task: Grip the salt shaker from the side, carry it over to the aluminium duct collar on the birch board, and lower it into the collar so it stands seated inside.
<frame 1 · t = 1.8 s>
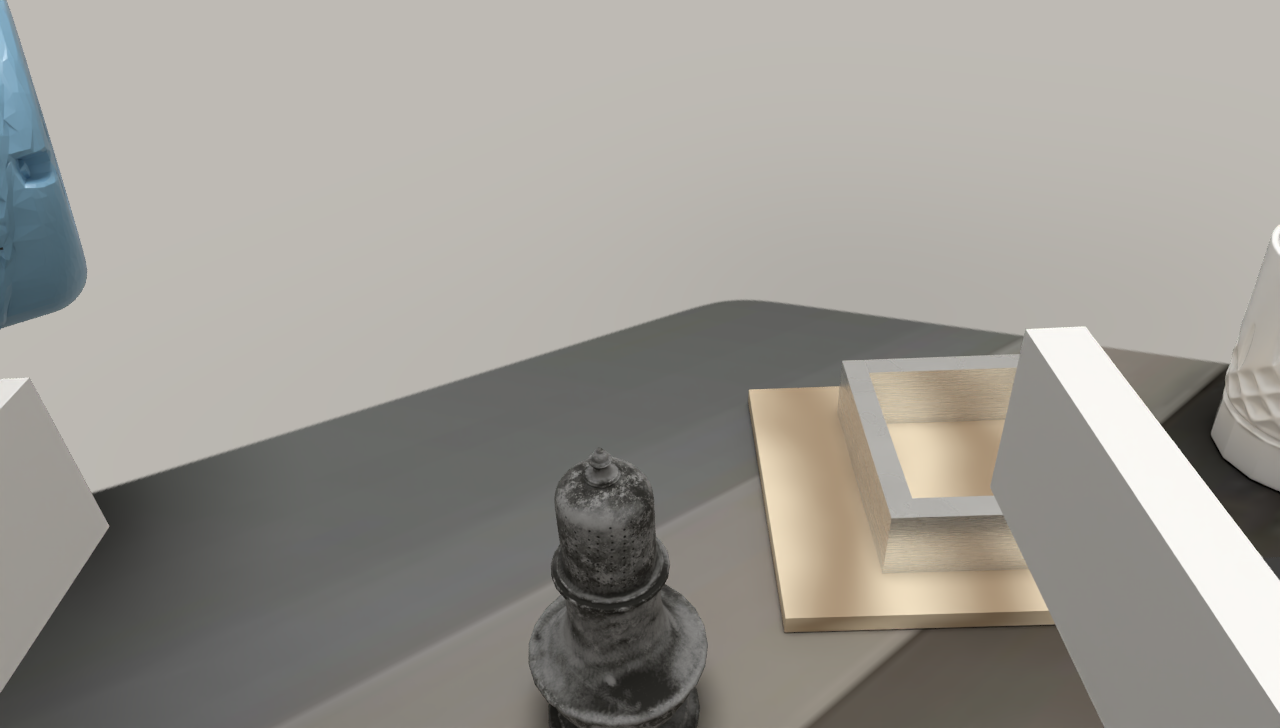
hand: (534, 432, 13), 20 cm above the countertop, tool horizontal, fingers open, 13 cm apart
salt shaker: (624, 711, 32), on the countertop
flange board: (971, 494, 40), on the countertop
duct collar: (974, 480, 39), resting on flange board
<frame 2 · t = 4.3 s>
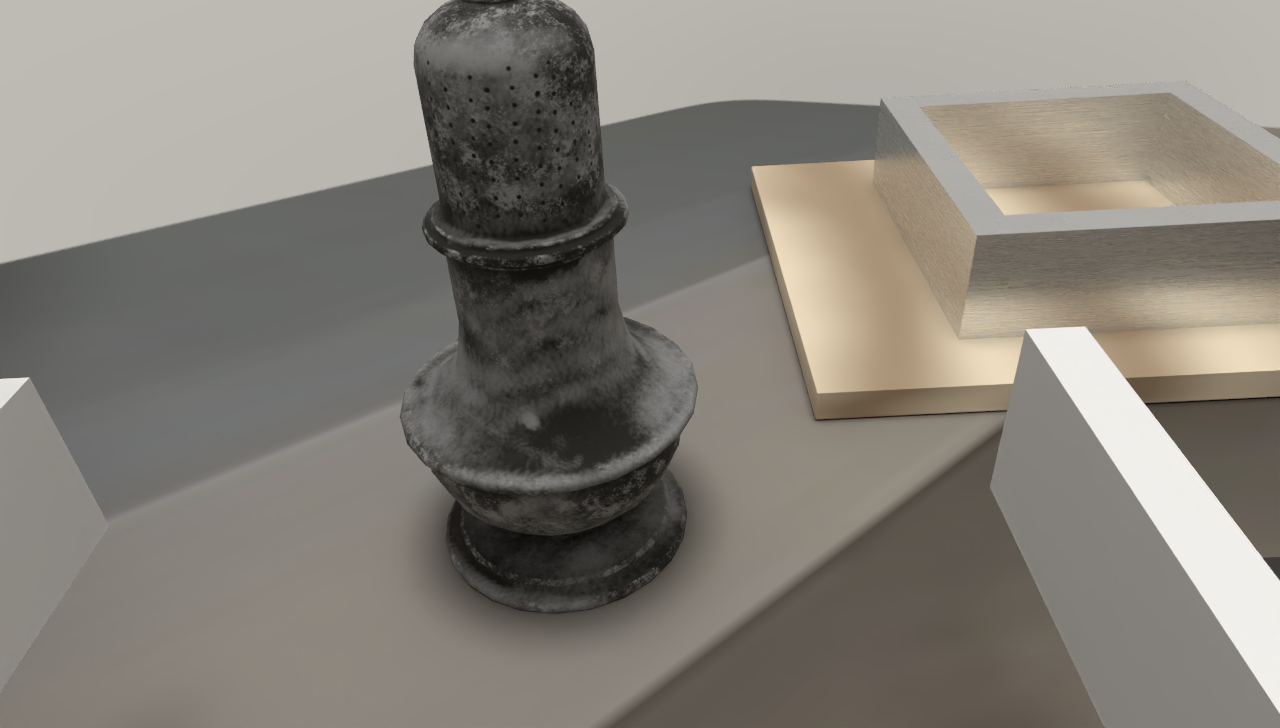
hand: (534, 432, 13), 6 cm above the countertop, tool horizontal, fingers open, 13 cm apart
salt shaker: (568, 524, 20), on the countertop
flange board: (1068, 264, 28), on the countertop
duct collar: (1074, 240, 28), resting on flange board
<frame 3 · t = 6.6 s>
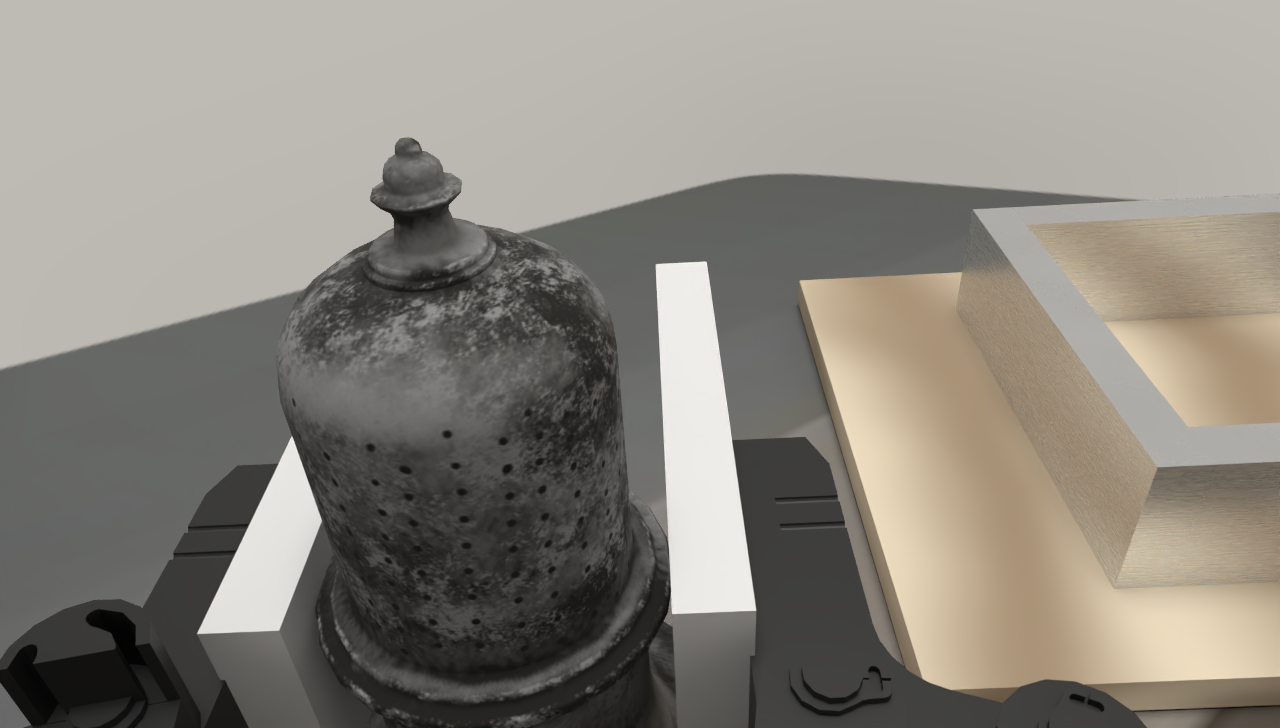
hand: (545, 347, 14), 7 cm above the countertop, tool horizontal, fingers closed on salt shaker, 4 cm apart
flange board: (1227, 438, 21), on the countertop
duct collar: (1238, 411, 21), resting on flange board
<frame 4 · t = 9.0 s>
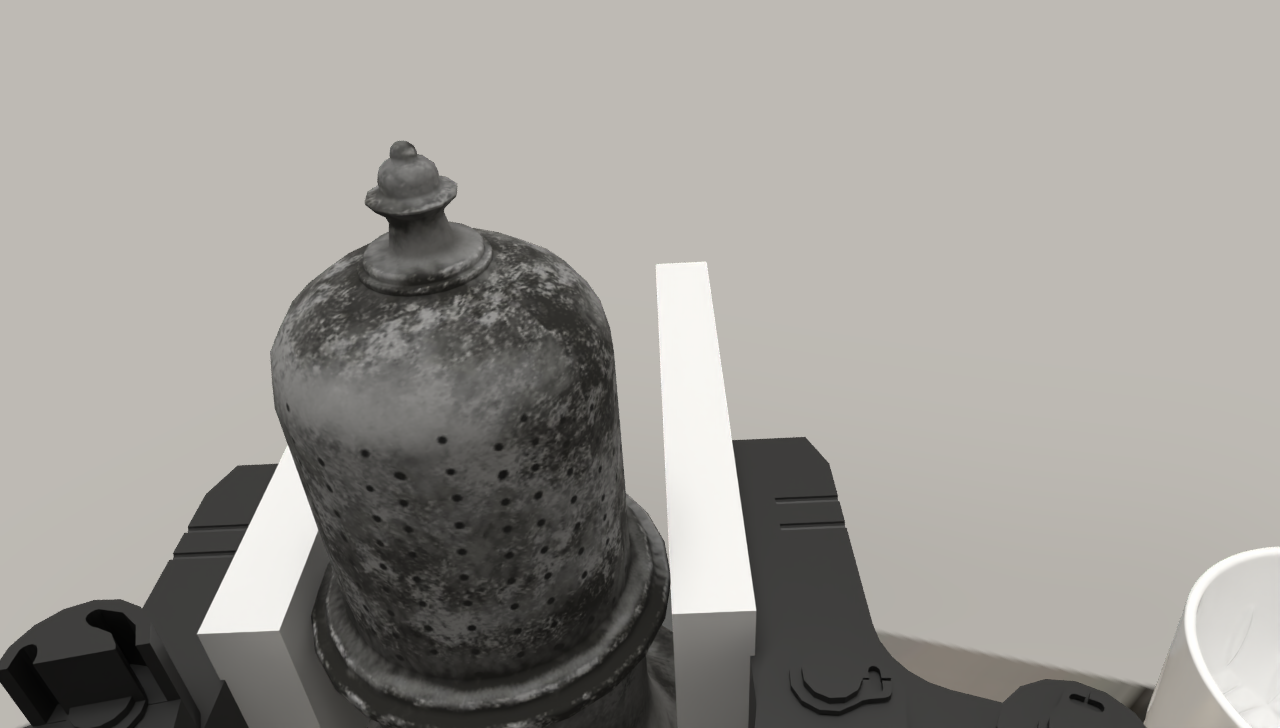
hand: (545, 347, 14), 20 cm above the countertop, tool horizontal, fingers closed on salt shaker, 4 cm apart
when the fingers open (9 cm above the countertop, at t = 11.2 s): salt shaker drops 1 cm, resting on flange board.
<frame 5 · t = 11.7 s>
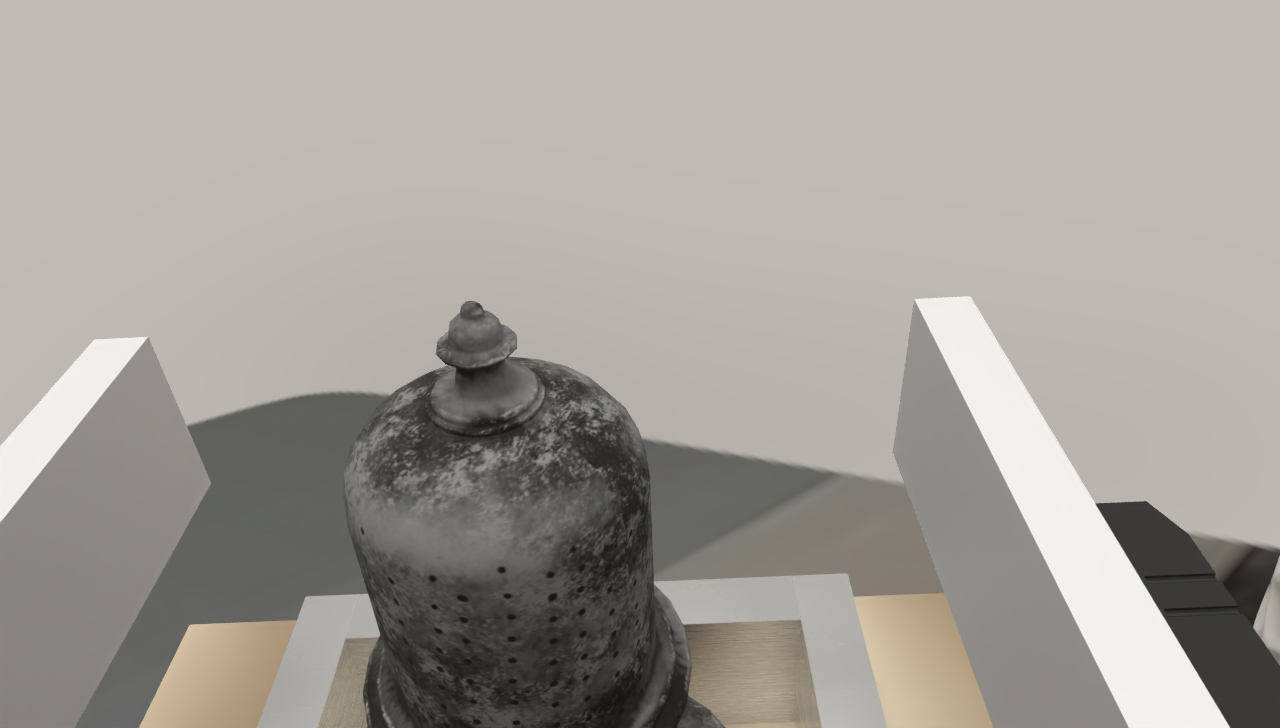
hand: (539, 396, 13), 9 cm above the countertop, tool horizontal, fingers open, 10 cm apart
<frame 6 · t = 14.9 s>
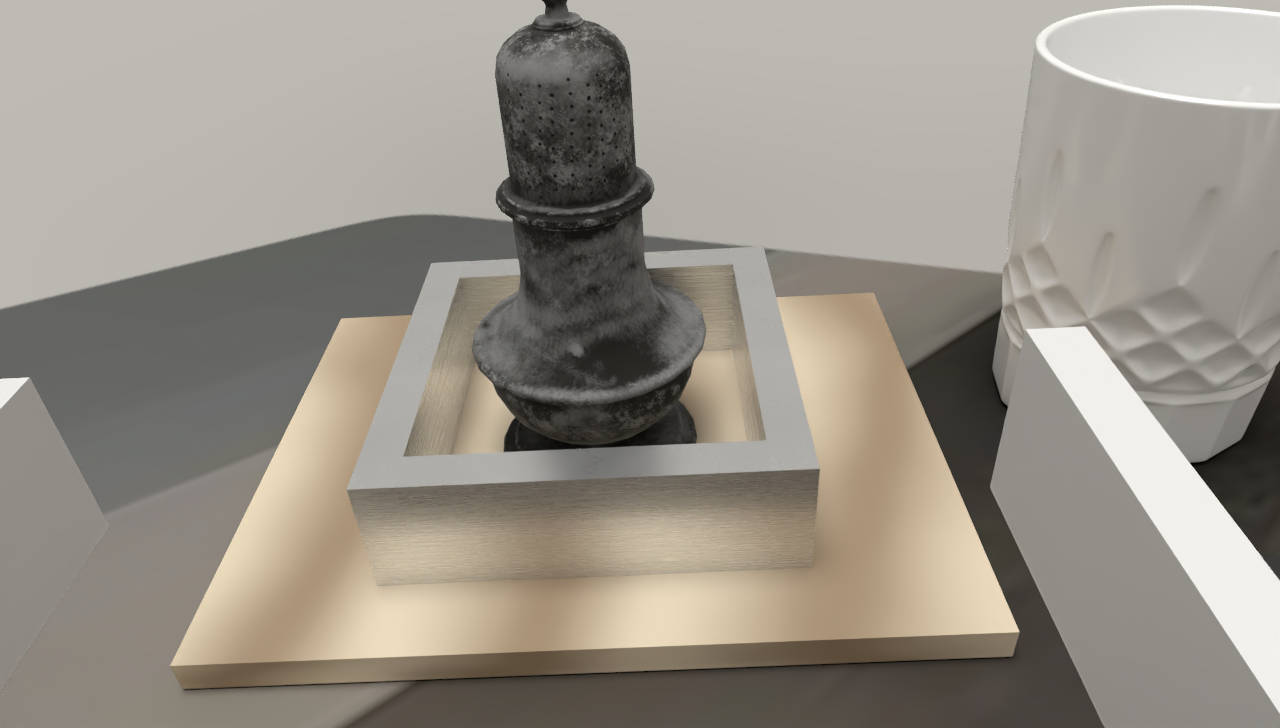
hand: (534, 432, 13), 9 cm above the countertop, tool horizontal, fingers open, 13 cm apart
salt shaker: (600, 444, 25), point 1 cm above the countertop, touching flange board
white cup: (1111, 399, 27), on the countertop
flange board: (601, 460, 25), on the countertop
duct collar: (599, 438, 25), resting on flange board
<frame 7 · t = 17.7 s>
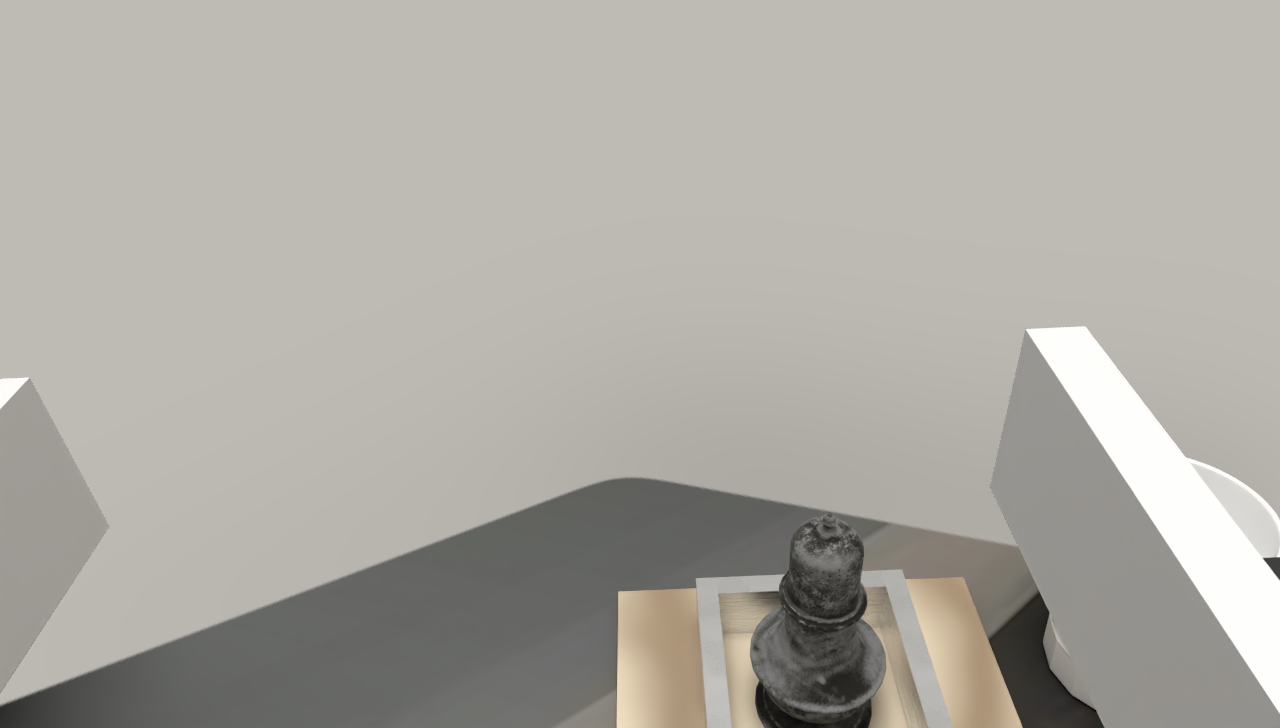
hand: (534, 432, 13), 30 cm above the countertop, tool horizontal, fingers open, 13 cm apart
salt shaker: (812, 705, 42), point 1 cm above the countertop, touching flange board
white cup: (1116, 665, 44), on the countertop
flange board: (811, 711, 42), on the countertop
duct collar: (812, 701, 42), resting on flange board
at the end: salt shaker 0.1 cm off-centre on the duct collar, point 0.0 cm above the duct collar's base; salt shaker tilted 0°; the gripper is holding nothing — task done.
